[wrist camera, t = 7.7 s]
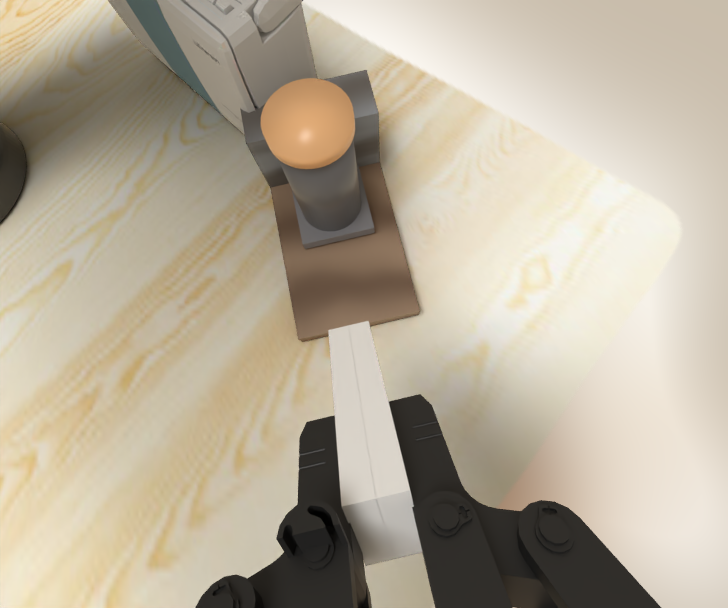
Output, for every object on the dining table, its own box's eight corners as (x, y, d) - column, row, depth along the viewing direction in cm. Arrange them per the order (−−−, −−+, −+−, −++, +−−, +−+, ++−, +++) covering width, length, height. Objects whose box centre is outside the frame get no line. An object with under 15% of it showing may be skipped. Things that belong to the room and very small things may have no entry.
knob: (374, 232, 31) (369, 149, 21) (305, 249, 31) (264, 174, 21) (359, 171, 33) (346, 64, 22) (292, 187, 33) (248, 87, 22)
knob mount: (418, 314, 31) (428, 290, 24) (302, 341, 31) (277, 326, 24) (370, 136, 36) (366, 69, 28) (268, 159, 36) (238, 99, 28)
